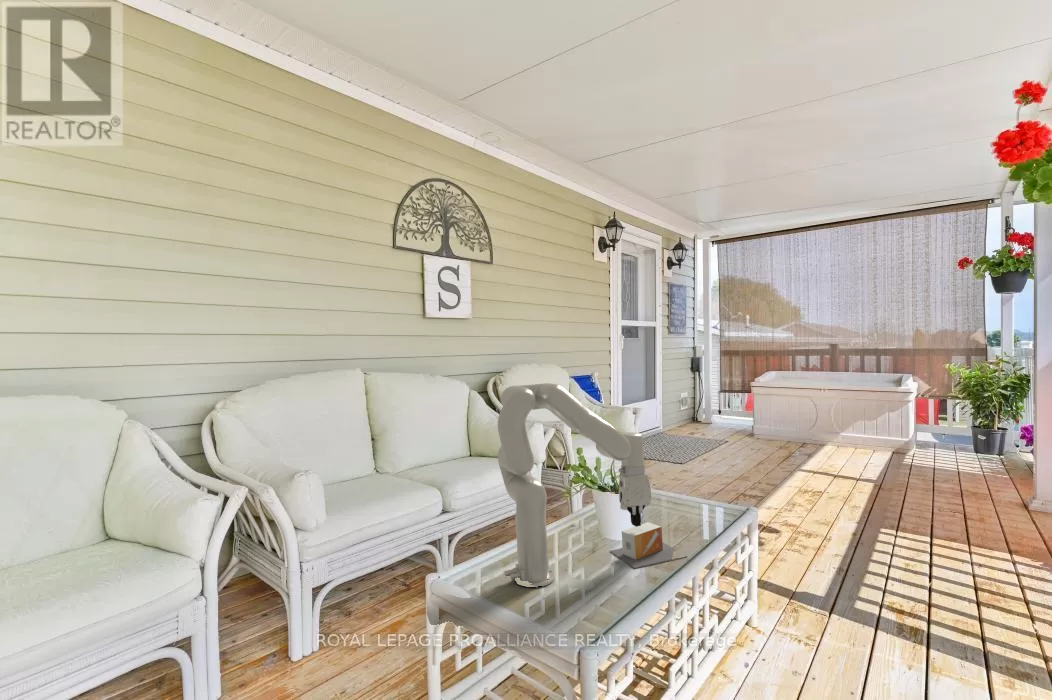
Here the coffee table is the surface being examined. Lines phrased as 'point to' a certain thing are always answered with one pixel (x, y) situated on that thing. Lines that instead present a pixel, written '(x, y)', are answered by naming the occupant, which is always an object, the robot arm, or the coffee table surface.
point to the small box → (642, 540)
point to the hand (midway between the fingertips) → (636, 525)
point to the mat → (646, 557)
